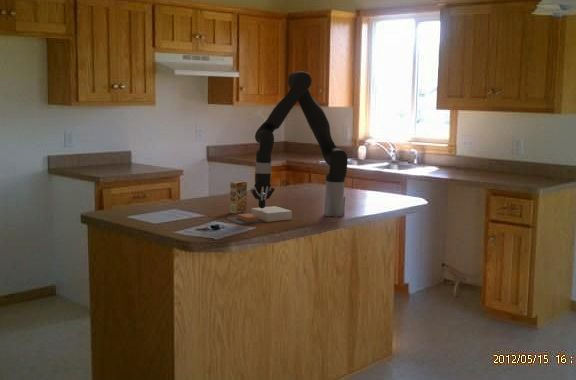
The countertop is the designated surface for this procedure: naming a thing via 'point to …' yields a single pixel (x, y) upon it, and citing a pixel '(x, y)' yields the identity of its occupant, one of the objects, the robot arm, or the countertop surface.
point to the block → (247, 217)
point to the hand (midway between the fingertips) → (261, 208)
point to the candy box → (238, 197)
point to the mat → (243, 221)
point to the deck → (272, 213)
